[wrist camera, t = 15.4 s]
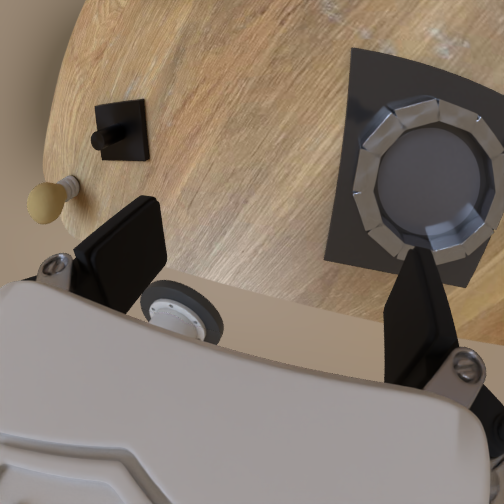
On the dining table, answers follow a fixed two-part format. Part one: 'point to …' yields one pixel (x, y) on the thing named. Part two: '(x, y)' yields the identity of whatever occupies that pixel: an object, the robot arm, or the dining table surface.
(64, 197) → the light bulb
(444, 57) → the dining table surface
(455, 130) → the hob plate
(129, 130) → the ring stand
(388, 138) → the steel ring
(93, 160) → the dining table surface
